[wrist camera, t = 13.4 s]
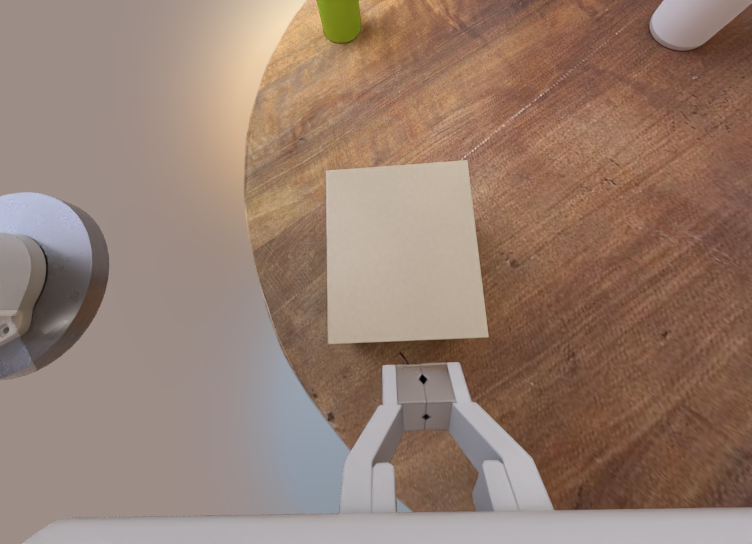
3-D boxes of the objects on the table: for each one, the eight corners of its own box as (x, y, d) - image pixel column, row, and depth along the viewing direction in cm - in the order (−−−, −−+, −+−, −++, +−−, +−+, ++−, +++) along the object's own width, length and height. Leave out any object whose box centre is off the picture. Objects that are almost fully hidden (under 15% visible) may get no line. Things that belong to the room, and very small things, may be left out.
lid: (327, 174, 27) (325, 170, 26) (465, 164, 26) (467, 159, 26) (329, 343, 24) (327, 344, 23) (485, 337, 23) (489, 337, 23)
